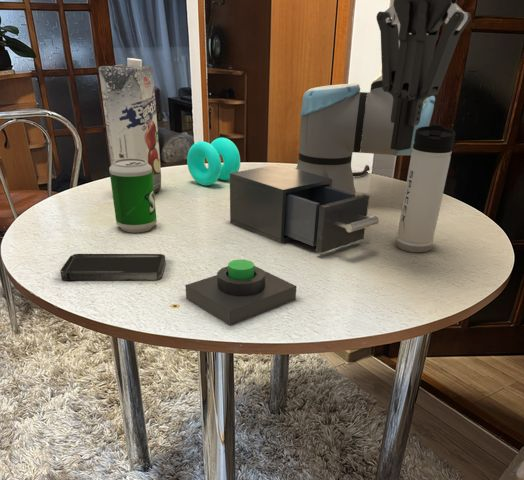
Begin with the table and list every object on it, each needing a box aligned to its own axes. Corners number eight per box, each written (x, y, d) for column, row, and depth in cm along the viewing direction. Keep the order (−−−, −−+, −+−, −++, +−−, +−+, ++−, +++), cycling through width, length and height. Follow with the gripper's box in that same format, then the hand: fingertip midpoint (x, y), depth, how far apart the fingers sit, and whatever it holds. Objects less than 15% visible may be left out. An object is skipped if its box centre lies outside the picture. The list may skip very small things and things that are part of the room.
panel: (250, 277, 79) (250, 252, 77) (295, 300, 73) (297, 274, 71) (186, 299, 72) (184, 273, 70) (230, 326, 66) (229, 298, 64)
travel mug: (432, 242, 94) (457, 125, 84) (430, 255, 89) (456, 132, 78) (397, 238, 96) (418, 122, 85) (393, 249, 91) (414, 128, 80)
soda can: (148, 235, 94) (141, 168, 87) (109, 231, 95) (100, 164, 88) (162, 222, 100) (157, 158, 94) (126, 219, 101) (119, 156, 95)
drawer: (382, 245, 90) (389, 201, 86) (339, 261, 83) (345, 213, 79) (310, 220, 101) (313, 179, 97) (267, 231, 94) (268, 189, 90)
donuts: (242, 182, 128) (242, 139, 122) (215, 190, 121) (214, 145, 116) (213, 175, 133) (212, 134, 127) (185, 182, 126) (183, 139, 121)
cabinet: (327, 229, 99) (332, 179, 94) (280, 243, 92) (283, 189, 87) (276, 211, 108) (278, 164, 103) (230, 222, 101) (229, 173, 96)
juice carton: (110, 198, 113) (91, 58, 99) (131, 186, 122) (116, 56, 107) (147, 201, 112) (134, 60, 97) (166, 189, 120) (156, 57, 106)
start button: (242, 268, 73) (243, 257, 72) (259, 277, 71) (259, 265, 70) (222, 275, 71) (222, 263, 70) (239, 283, 69) (239, 271, 68)
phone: (71, 253, 82) (165, 253, 83) (73, 260, 83) (166, 260, 84) (58, 273, 76) (160, 273, 76) (59, 280, 76) (161, 280, 77)
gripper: (370, -56, 64) (349, 144, 77) (466, -66, 56) (424, 160, 68) (405, -49, 68) (379, 139, 81) (499, -58, 60) (454, 153, 73)
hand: (400, 148), depth 75 cm, fingers closed
